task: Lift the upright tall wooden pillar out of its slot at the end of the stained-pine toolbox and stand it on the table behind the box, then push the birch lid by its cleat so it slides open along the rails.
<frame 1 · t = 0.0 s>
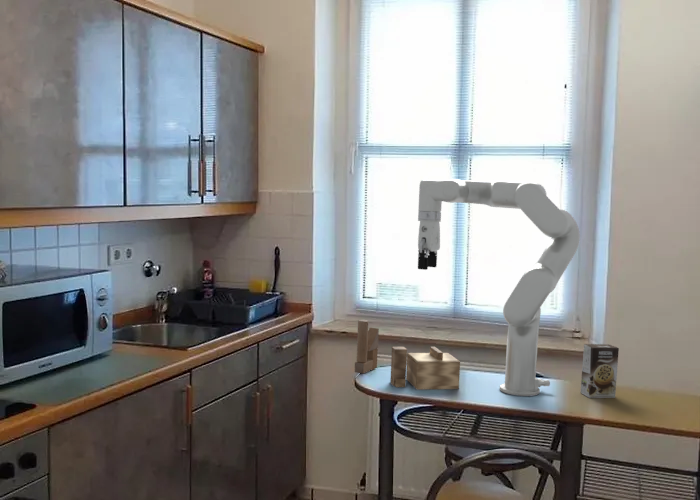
hand: (427, 268, 254), 37 cm above the table, tool pointing down, fingers open, 9 cm apart
toolbox: (431, 383, 250), on the table
wooden block: (365, 370, 265), on the table
tall wooden pillar: (397, 384, 248), on the table
coffee box: (597, 396, 243), on the table
lid: (433, 354, 249), point 10 cm above the table, slide at 0.0 cm
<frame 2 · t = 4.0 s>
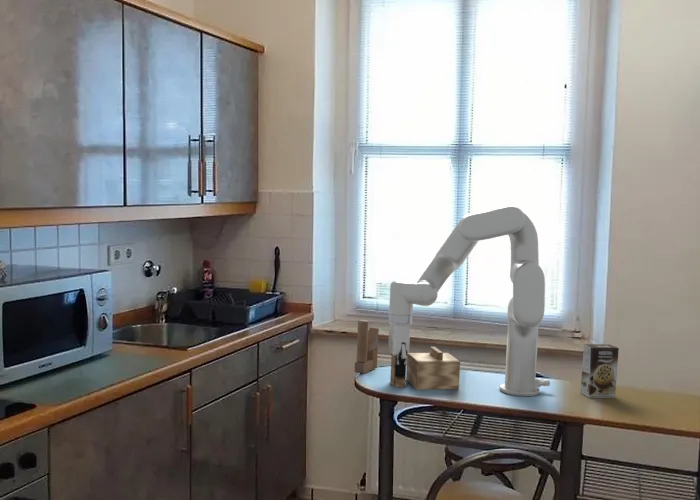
hand: (398, 374, 247), 3 cm above the table, tool pointing down, fingers closed on tall wooden pillar, 4 cm apart
tall wooden pillar: (397, 384, 248), on the table, touching gripper
everything else where it was.
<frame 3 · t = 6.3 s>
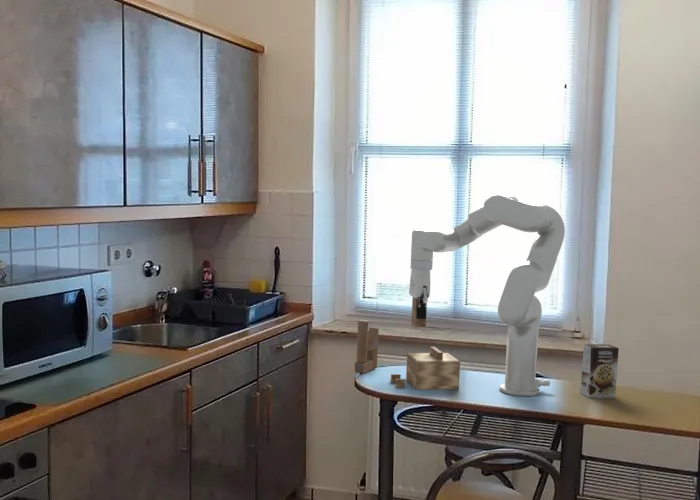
hand: (419, 316, 265), 19 cm above the table, tool pointing down, fingers closed on tall wooden pillar, 4 cm apart
tall wooden pillar: (418, 326, 265), point 16 cm above the table, touching gripper
everything else where it was.
when the fingers open (4 cm above the table, at t = 8.8 s): tall wooden pillar stays where it is, on the table.
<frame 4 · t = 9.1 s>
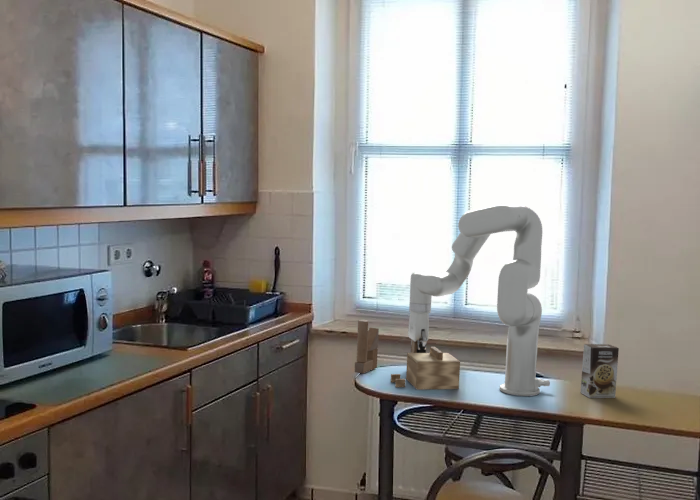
hand: (417, 358, 266), 5 cm above the table, tool pointing down, fingers open, 6 cm apart
tall wooden pillar: (417, 371, 267), on the table
everything else where it was.
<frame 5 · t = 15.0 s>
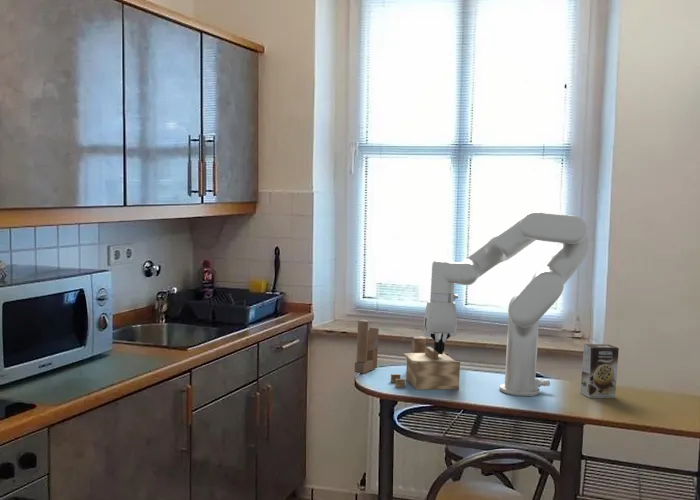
hand: (438, 353, 249), 10 cm above the table, tool pointing down, fingers closed
lid: (428, 354, 249), point 10 cm above the table, slide at 1.5 cm, touching gripper
everything else where it was.
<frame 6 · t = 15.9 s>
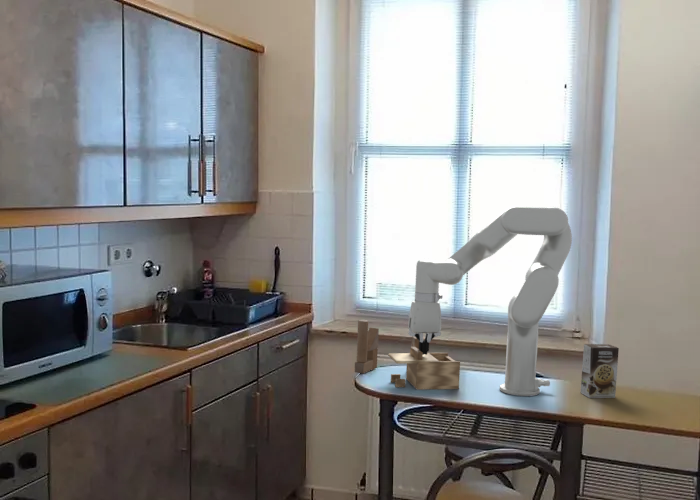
hand: (423, 353, 248), 10 cm above the table, tool pointing down, fingers closed
lid: (413, 354, 248), point 10 cm above the table, slide at 6.7 cm, touching gripper
everything else where it was.
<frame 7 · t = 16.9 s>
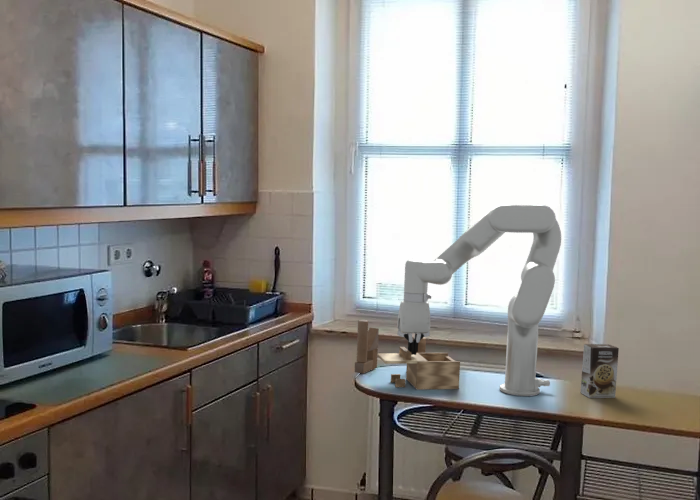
hand: (412, 353, 248), 10 cm above the table, tool pointing down, fingers closed
lid: (402, 354, 247), point 10 cm above the table, slide at 10.4 cm, touching gripper
everything else where it was.
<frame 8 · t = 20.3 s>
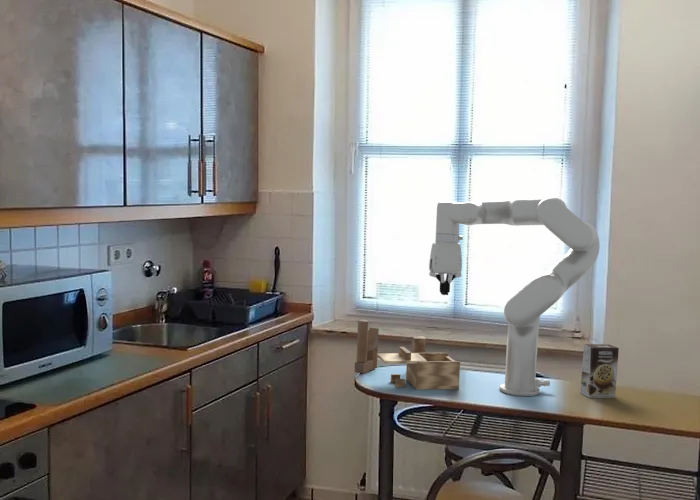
hand: (444, 294, 252), 29 cm above the table, tool pointing down, fingers closed
lid: (401, 354, 247), point 10 cm above the table, slide at 10.5 cm
everything else where it was.
at the end: lid slide at 10.5 cm; tall wooden pillar inside the target area (0.0 cm from its centre), on the table; tall wooden pillar tilted 0° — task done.
